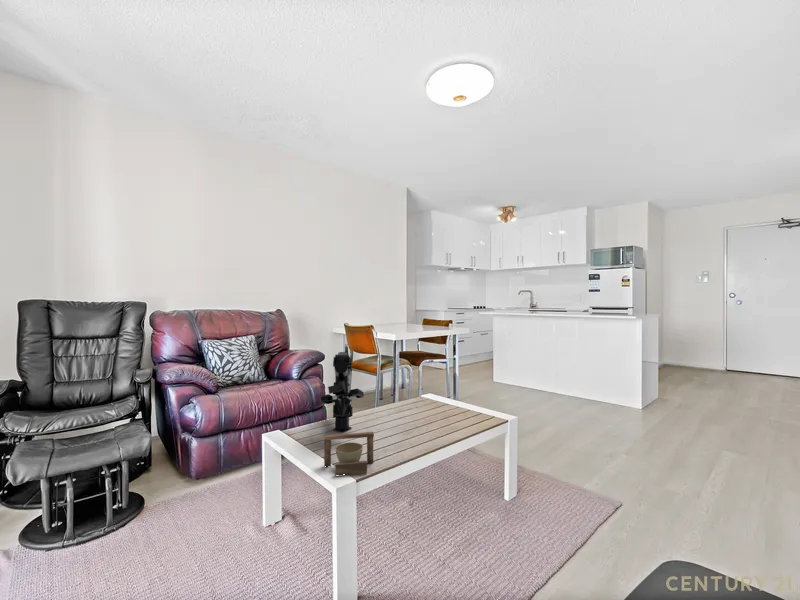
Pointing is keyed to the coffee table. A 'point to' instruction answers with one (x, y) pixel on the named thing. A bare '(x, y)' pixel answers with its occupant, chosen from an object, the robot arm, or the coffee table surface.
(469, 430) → the coffee table surface
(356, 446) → the flower pot
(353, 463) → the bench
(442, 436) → the coffee table surface
